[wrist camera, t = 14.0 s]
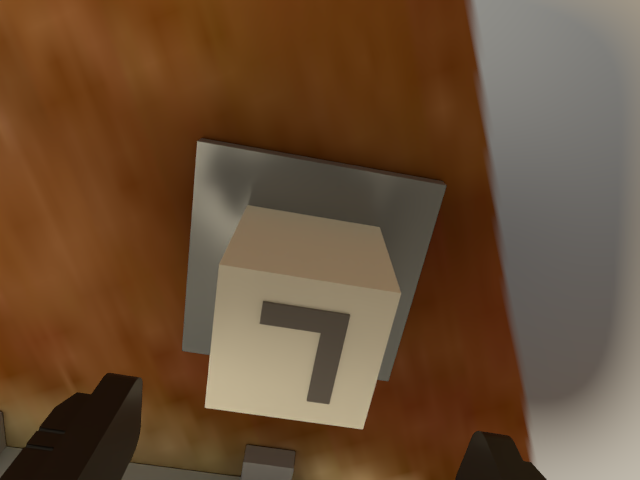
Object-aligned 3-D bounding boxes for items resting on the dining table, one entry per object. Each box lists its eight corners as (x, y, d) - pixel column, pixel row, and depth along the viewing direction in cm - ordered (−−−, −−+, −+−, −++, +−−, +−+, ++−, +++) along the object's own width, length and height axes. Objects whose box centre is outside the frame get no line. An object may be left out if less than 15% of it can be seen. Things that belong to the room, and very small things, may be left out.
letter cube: (379, 227, 17) (401, 295, 12) (352, 337, 19) (363, 432, 14) (247, 205, 17) (218, 266, 12) (233, 319, 19) (204, 410, 14)
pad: (442, 180, 17) (446, 185, 16) (386, 372, 20) (388, 381, 20) (201, 138, 16) (197, 141, 16) (185, 342, 20) (181, 350, 19)
